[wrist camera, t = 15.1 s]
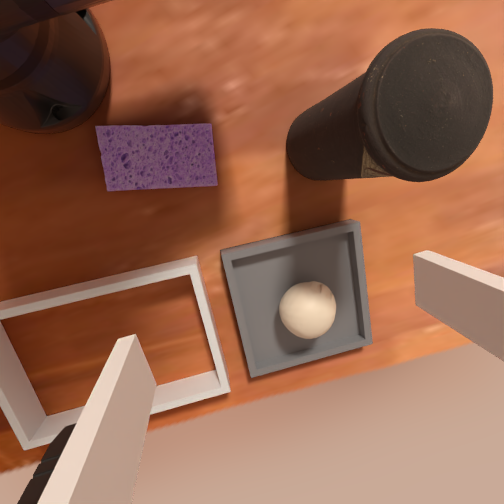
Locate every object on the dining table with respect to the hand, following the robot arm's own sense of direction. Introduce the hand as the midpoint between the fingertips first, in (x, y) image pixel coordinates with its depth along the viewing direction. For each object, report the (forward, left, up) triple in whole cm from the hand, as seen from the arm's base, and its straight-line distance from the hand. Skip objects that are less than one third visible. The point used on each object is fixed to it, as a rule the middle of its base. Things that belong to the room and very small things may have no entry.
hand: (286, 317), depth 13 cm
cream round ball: (+11, -6, -24) cm, 27 cm away
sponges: (-11, +6, -25) cm, 28 cm away
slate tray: (+11, -6, -25) cm, 28 cm away
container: (+7, +13, -25) cm, 29 cm away
